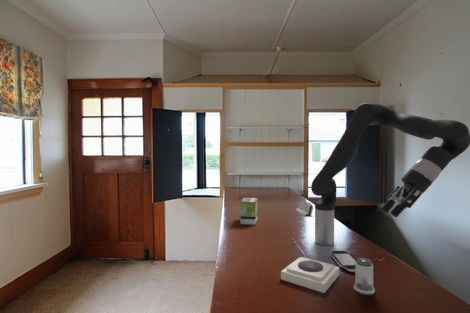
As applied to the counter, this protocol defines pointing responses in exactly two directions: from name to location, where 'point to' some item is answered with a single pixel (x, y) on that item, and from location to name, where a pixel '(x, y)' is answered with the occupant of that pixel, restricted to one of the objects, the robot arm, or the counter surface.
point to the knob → (364, 277)
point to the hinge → (305, 208)
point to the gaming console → (345, 260)
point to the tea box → (248, 211)
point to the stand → (310, 274)
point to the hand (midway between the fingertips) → (388, 213)
